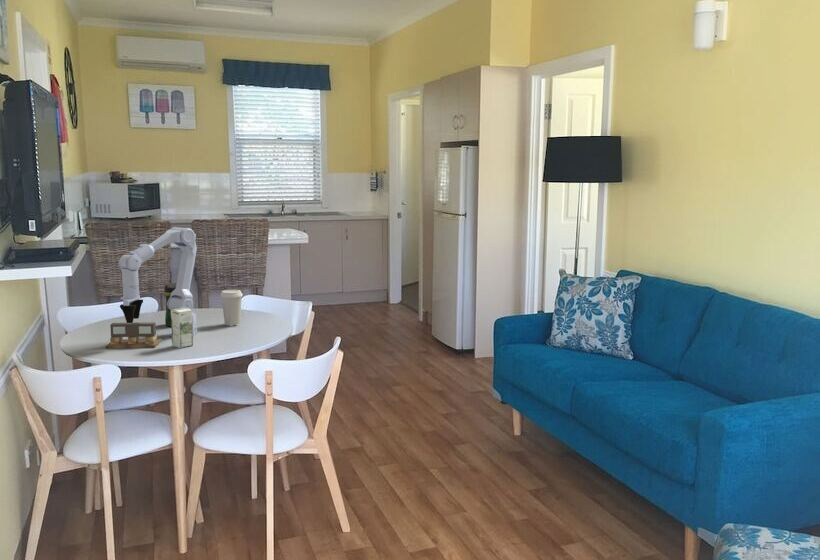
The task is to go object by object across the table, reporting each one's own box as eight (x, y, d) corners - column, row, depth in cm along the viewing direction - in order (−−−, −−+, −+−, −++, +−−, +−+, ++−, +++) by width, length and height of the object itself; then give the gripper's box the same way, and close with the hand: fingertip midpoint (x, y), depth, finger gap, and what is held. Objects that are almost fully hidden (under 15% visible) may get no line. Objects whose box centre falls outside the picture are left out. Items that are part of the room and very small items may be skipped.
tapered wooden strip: (156, 334, 267) (155, 322, 266) (153, 336, 264) (153, 324, 263) (113, 335, 266) (112, 322, 265) (110, 337, 263) (110, 324, 262)
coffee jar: (166, 327, 295) (164, 285, 292) (164, 324, 302) (162, 282, 299) (190, 325, 299) (188, 283, 296) (187, 322, 306) (185, 281, 304)
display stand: (161, 341, 271) (161, 332, 271) (154, 347, 261) (154, 338, 261) (114, 342, 270) (114, 333, 269) (105, 348, 260) (105, 339, 259)
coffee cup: (246, 322, 306) (245, 289, 304) (239, 327, 297) (238, 293, 295) (225, 322, 307) (224, 289, 305) (217, 326, 298) (216, 292, 295)
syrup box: (185, 343, 268) (183, 307, 266) (193, 345, 265) (192, 309, 262) (171, 346, 264) (170, 309, 262) (180, 348, 260) (178, 311, 258)
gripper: (125, 282, 270) (127, 316, 272) (113, 289, 255) (116, 324, 257) (144, 282, 270) (146, 316, 272) (133, 289, 256) (135, 324, 258)
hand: (132, 320), depth 265 cm, fingers open, 7 cm apart
